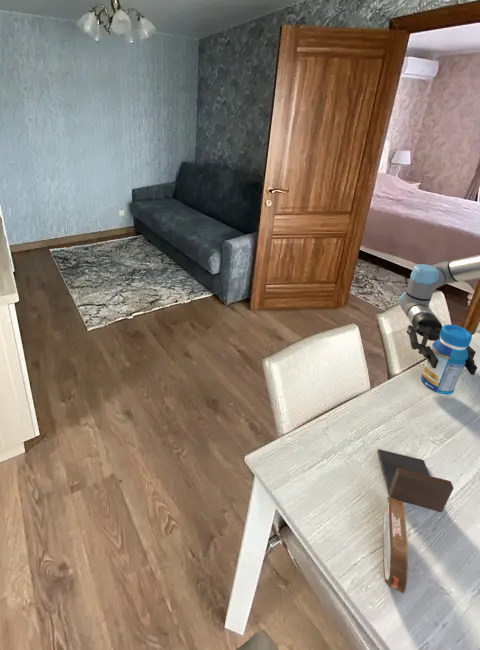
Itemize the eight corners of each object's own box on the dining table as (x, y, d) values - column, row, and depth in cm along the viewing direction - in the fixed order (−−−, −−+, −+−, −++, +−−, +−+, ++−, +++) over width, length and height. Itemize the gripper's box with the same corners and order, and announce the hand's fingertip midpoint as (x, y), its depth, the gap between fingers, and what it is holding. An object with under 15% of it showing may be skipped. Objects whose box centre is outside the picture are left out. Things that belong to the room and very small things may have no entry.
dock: (377, 451, 86) (384, 428, 83) (422, 462, 84) (432, 439, 81) (389, 498, 76) (399, 474, 73) (442, 512, 73) (454, 488, 70)
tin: (400, 604, 60) (414, 577, 57) (380, 593, 61) (392, 566, 58) (396, 519, 72) (407, 493, 69) (379, 511, 73) (388, 485, 70)
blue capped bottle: (452, 402, 98) (476, 345, 90) (417, 387, 103) (437, 332, 95) (454, 384, 104) (476, 329, 96) (421, 371, 109) (440, 318, 101)
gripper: (457, 336, 114) (495, 386, 94) (386, 325, 119) (407, 370, 99) (465, 317, 111) (505, 364, 91) (391, 307, 116) (414, 349, 96)
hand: (454, 367), depth 95 cm, fingers closed on blue capped bottle, 8 cm apart
